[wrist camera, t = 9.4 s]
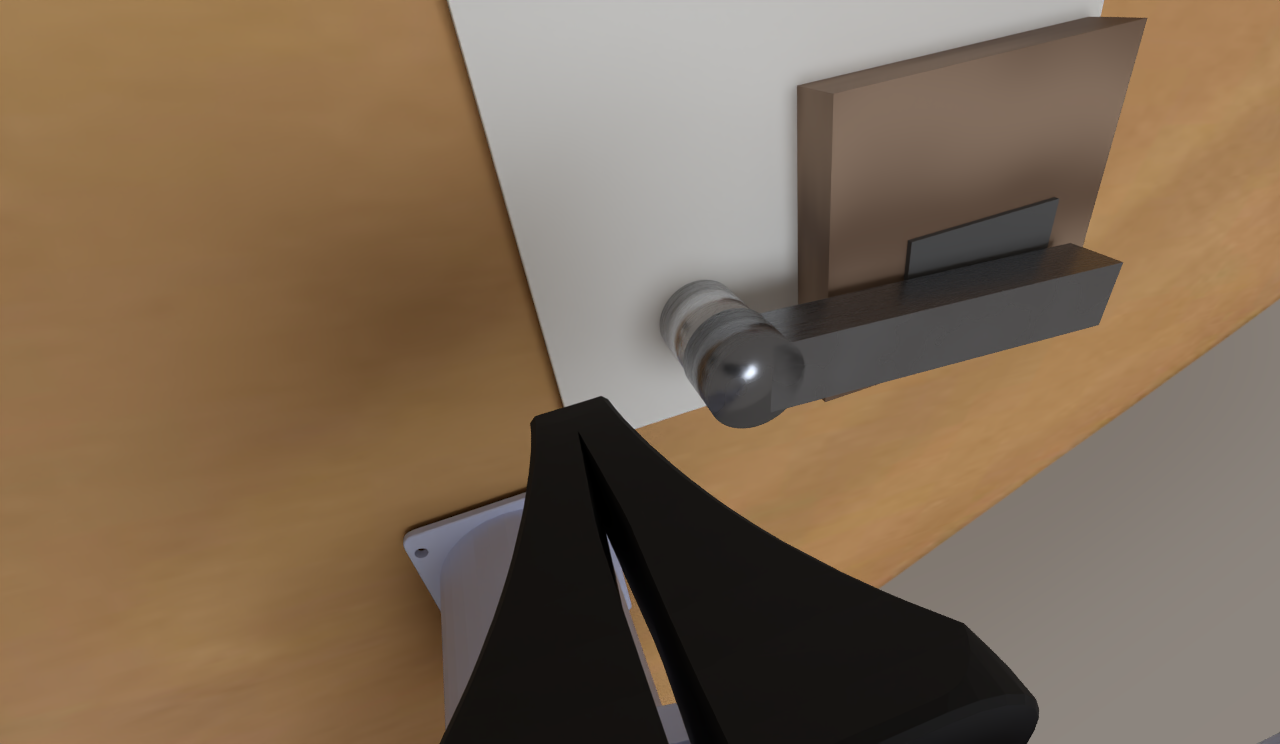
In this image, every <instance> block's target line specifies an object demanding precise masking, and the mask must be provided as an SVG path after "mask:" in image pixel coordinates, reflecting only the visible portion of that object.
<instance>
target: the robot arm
mask: <svg viewBox="0 0 1280 744" xmlns="http://www.w3.org/2000/svg"><path fill="white" fill-rule="evenodd" d="M530 426H531V457H530V467H529V476H528V483H527V489H526V492H525V493H522V494H519V495H516V496H513V497H510V498H507V499H504V500H501V501H498V502H495V503H492V504H489V505H486V506H483V507H480V508H477V509H474V510H471V511H468V512H465V513H462V514H459V515H456V516H453V517H450V518H447V519H444V520H441V521H438V522H435V523H432V524H429V525H426V526H423V527H420V528H417V529H414V530H412V531H410V532H408V533H407V534H406V535H405V536H404V539H403V546H404V549H405V551H406V552H407V554H408V556H409V558H410V559H411V561H412V563H413V565H414V566H415V568H416V570H417V571H418V573H419V575H420V577H421V578H422V580H423V582H424V584H425V585H426V587H427V589H428V590H429V592H430V594H431V596H432V597H433V599H434V601H435V603H436V604H437V606H438V608H439V610H440V611H441V623H442V650H443V677H444V704H445V730H446V731H445V733H444V735H443V737H442V740H441V742H440V744H1027V742H1028V741H1029V739H1030V737H1031V735H1032V734H1033V732H1034V730H1035V727H1036V724H1037V721H1038V718H1039V707H1038V704H1037V701H1036V699H1035V697H1034V696H1033V695H1032V694H1031V693H1030V692H1029V690H1028V689H1027V688H1026V687H1025V686H1024V685H1023V683H1022V682H1021V681H1020V680H1019V679H1018V677H1017V676H1016V675H1015V674H1014V673H1013V672H1012V670H1011V669H1010V668H1009V667H1008V666H1007V665H1006V664H1005V663H1004V662H1003V661H1002V660H1001V659H1000V658H999V657H998V656H997V655H996V654H995V653H994V652H993V651H992V650H991V649H990V648H989V647H988V646H987V645H986V644H985V643H984V642H983V641H982V640H981V639H980V638H979V637H977V636H976V635H975V634H974V633H973V632H972V631H971V630H970V629H969V628H968V627H967V626H966V625H965V624H964V623H961V622H959V621H956V620H953V619H951V618H949V617H946V616H944V615H941V614H938V613H936V612H933V611H931V610H928V609H925V608H923V607H920V606H918V605H915V604H913V603H910V602H907V601H905V600H903V599H901V598H898V597H895V596H893V595H891V594H889V593H886V592H884V591H882V590H879V589H877V588H875V587H873V586H871V585H869V584H866V583H864V582H862V581H860V580H858V579H855V578H853V577H851V576H849V575H847V574H845V573H842V572H840V571H838V570H837V569H835V568H833V567H831V566H829V565H827V564H825V563H823V562H821V561H819V560H817V559H816V558H814V557H812V556H810V555H808V554H806V553H804V552H802V551H800V550H798V549H796V548H794V547H793V546H791V545H789V544H787V543H785V542H783V541H781V540H780V539H778V538H776V537H775V536H773V535H771V534H770V533H768V532H766V531H765V530H763V529H761V528H760V527H758V526H756V525H755V524H753V523H752V522H750V521H749V520H747V519H745V518H744V517H742V516H741V515H739V514H738V513H736V512H735V511H733V510H732V509H730V508H729V507H727V506H726V505H724V504H723V503H722V502H720V501H719V500H717V499H716V498H715V497H713V496H712V495H710V494H709V493H708V492H706V491H705V490H704V489H703V488H701V487H700V486H699V485H697V484H696V483H695V482H693V481H692V480H691V479H690V478H688V477H687V476H686V475H685V474H683V473H682V472H681V471H680V470H678V469H677V468H676V467H675V466H674V465H672V464H671V463H670V462H669V461H668V460H667V459H666V458H665V457H663V456H662V455H661V454H660V453H659V452H658V451H657V450H655V449H654V448H653V447H652V446H651V445H650V444H649V443H648V442H647V441H646V440H645V439H644V438H643V437H642V436H641V435H640V434H639V433H638V432H637V431H636V430H635V429H634V428H633V427H632V426H631V425H630V424H629V423H628V422H627V421H626V420H625V419H624V418H623V417H622V416H621V414H620V413H619V412H618V411H617V410H616V409H615V407H614V406H613V405H612V404H611V402H610V401H609V399H607V398H605V397H603V396H599V397H596V398H593V399H590V400H586V401H583V402H580V403H577V404H573V405H570V406H567V407H564V408H560V409H557V410H554V411H551V412H547V413H544V414H541V415H538V416H535V417H534V418H533V420H532V421H531V423H530ZM421 548H424V549H425V550H421V551H420V550H418V549H421ZM622 570H623V572H622ZM623 573H624V575H625V577H626V579H627V581H628V584H629V586H630V588H631V590H632V593H633V595H634V597H635V599H636V602H637V604H638V606H639V608H640V610H641V613H642V615H643V617H644V619H645V622H646V624H647V626H648V628H649V631H650V633H651V635H652V637H653V640H654V642H655V645H656V647H657V650H658V652H659V655H660V657H661V660H662V662H663V665H664V668H665V670H666V673H667V676H668V679H669V682H670V685H671V688H672V691H673V694H674V697H675V700H676V702H677V704H676V703H673V704H669V705H664V706H662V704H661V702H660V699H659V696H658V693H657V690H656V687H655V684H654V681H653V678H652V675H651V673H650V670H649V667H648V664H647V661H646V658H645V655H644V652H643V649H642V647H641V644H640V641H639V638H638V635H637V632H636V629H635V626H634V623H633V621H632V618H631V615H630V612H629V610H630V608H631V601H630V597H629V594H628V590H627V586H626V583H625V579H624V575H623ZM1257 744H1280V732H1279V733H1277V734H1275V735H1273V736H1272V737H1270V738H1268V739H1265V740H1263V741H1261V742H1260V743H1257Z"/></svg>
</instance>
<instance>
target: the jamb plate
mask: <svg viewBox="0 0 1280 744" xmlns="http://www.w3.org/2000/svg"><path fill="white" fill-rule="evenodd" d="M447 3H448V7H449V10H450V14H451V17H452V21H453V24H454V28H455V31H456V35H457V38H458V42H459V45H460V49H461V52H462V56H463V59H464V63H465V66H466V69H467V73H468V76H469V80H470V83H471V87H472V90H473V94H474V97H475V101H476V104H477V108H478V111H479V115H480V118H481V122H482V125H483V129H484V132H485V136H486V139H487V143H488V146H489V149H490V153H491V156H492V160H493V163H494V167H495V170H496V174H497V177H498V181H499V184H500V188H501V191H502V195H503V198H504V202H505V205H506V209H507V212H508V216H509V219H510V222H511V226H512V229H513V233H514V236H515V240H516V243H517V247H518V250H519V254H520V257H521V261H522V264H523V268H524V271H525V275H526V278H527V282H528V285H529V289H530V292H531V296H532V299H533V302H534V306H535V309H536V313H537V316H538V320H539V323H540V327H541V330H542V334H543V337H544V341H545V344H546V348H547V351H548V355H549V358H550V362H551V365H552V369H553V372H554V375H555V379H556V382H557V386H558V389H559V393H560V396H561V400H562V403H563V407H567V406H570V405H573V404H577V403H580V402H583V401H586V400H590V399H593V398H596V397H599V396H603V397H605V398H607V399H609V401H610V402H611V404H612V405H613V406H614V407H615V409H616V410H617V411H618V412H619V413H620V414H621V416H622V417H623V418H624V419H625V420H626V421H627V422H628V423H629V424H630V425H631V426H632V427H633V428H634V429H636V428H640V427H643V426H646V425H649V424H652V423H655V422H658V421H661V420H664V419H667V418H670V417H673V416H676V415H679V414H682V413H685V412H688V411H691V410H695V409H698V408H701V407H704V406H706V404H705V403H704V401H703V400H702V399H701V397H700V396H699V394H698V393H697V392H696V390H695V389H694V387H693V386H692V384H691V383H690V382H689V380H688V379H687V377H686V375H685V371H684V368H683V367H682V366H681V364H680V363H679V361H678V360H677V359H676V357H675V356H674V354H673V353H672V352H671V350H670V349H669V348H668V346H667V345H666V343H665V342H664V340H663V338H662V336H661V332H660V317H661V313H662V310H663V308H664V306H665V304H666V303H667V301H668V300H669V298H670V297H671V296H672V295H673V294H674V293H675V292H676V291H677V290H678V289H680V288H681V287H683V286H684V285H686V284H688V283H691V282H694V281H698V280H714V281H717V282H720V283H722V284H724V285H725V286H726V287H728V288H729V289H730V290H731V291H732V292H733V293H734V294H735V295H736V296H737V297H738V298H739V299H741V300H742V301H743V302H744V303H745V304H746V305H747V306H748V307H749V308H750V309H751V310H754V311H756V312H758V313H764V312H768V311H772V310H777V309H781V308H786V307H790V306H795V305H798V202H797V85H802V84H806V83H810V82H814V81H819V80H823V79H827V78H831V77H835V76H840V75H844V74H848V73H852V72H857V71H861V70H865V69H869V68H874V67H878V66H882V65H886V64H891V63H895V62H899V61H903V60H907V59H912V58H916V57H920V56H924V55H929V54H933V53H937V52H941V51H946V50H950V49H954V48H958V47H962V46H967V45H971V44H975V43H979V42H984V41H988V40H992V39H996V38H1001V37H1005V36H1009V35H1013V34H1017V33H1022V32H1026V31H1030V30H1034V29H1039V28H1043V27H1047V26H1051V25H1056V24H1060V23H1064V22H1068V21H1072V20H1077V19H1081V18H1085V17H1100V15H1101V11H1102V7H1103V3H1104V0H447Z"/></svg>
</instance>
